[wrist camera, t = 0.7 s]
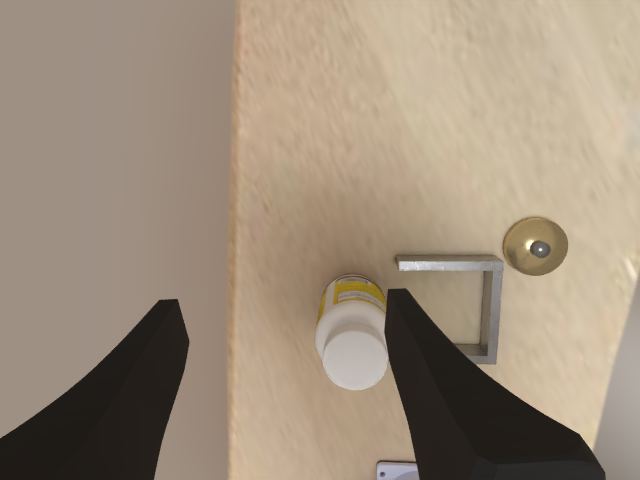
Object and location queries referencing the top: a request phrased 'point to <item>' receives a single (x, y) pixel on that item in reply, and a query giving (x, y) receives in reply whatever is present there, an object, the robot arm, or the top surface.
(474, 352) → the bracket
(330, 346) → the supplement bottle
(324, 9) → the top surface
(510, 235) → the gold disc
